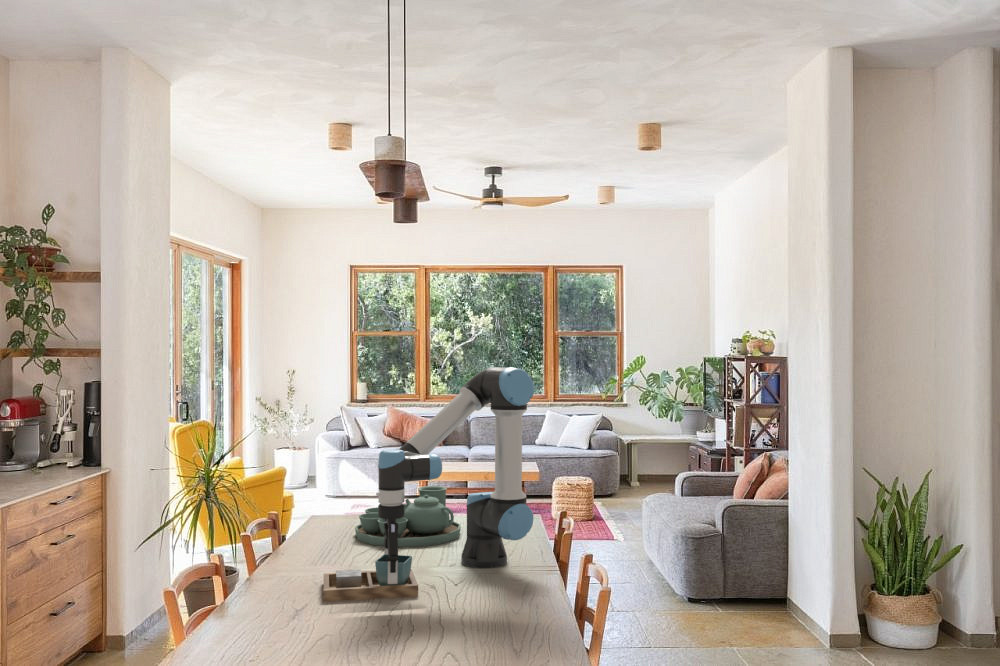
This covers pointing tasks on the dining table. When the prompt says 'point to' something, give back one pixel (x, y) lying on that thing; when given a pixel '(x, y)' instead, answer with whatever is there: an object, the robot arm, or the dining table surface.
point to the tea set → (414, 521)
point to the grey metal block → (348, 578)
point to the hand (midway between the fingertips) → (390, 577)
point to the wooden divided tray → (368, 588)
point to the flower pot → (403, 570)
